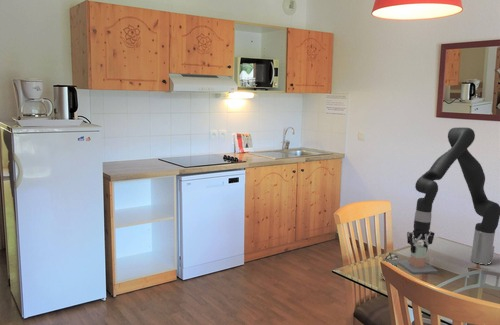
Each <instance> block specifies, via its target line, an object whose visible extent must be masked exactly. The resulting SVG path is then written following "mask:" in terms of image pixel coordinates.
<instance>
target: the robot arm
mask: <svg viewBox="0 0 500 325" xmlns="http://www.w3.org/2000/svg"><path fill="white" fill-rule="evenodd" d="M475 137H476V134H475V131H474V129H472V128H470V127H452V128H450V129H449V130H448V132H447V140H448V142H449V145H450V147H451V148H449V149H448V150H447V151H445V152H444V153H442V155H440V156H438V158H436V160H435V161H434V163H432V165H431V167H430V168H429V170H427V171H426V172H425V173H424V174H422V175H421V176H420V177H419V178H418V179H417V181H416V182H415V187H414V188H415V191H417V192H419V193H421V194H424V197H419V198H418V199H417V200H416V201H417V202H416V208H415V214H414V219H413V230H412V231H408V232H407V233H406V237H407V238H406V239H407V244H408V245H410V253H411V252H412V253H415V248H416V246H415V245H417V243H419V241H422V242H423V243H422V246H424V247H426V248H427V250H426V253H427V252H428V249H429V245H432V244H433V241H434V237H435V232H433V231H431V223H432V212H433V211H432V210H433V204H434V201H435V198H436V196H437V194H438V191H439V185H438V183H437V182H436V181H440V180H442V179H443V177H444V176H445V175H446V173H447V172H448V170H449V169H450V168H451V166H452V165H453V164H454V163H455V162H456V160H457V162H458V164H459V166H460V167H459V168H460V169H461V172H462V175H463V177H464V180H465V183H466V186H467V188H468V191H469V194H470V196H471V200H472V204H473V208H474V211H475V213H476V214H477V215H478V216H480V217H482V220H481V222H478V223H476V224H475V228H474V233H473V242H472V248H471V256H470V261H471V260H472V261H474V262H478V263H482V264H488V263H490V262H492V263H493V258H494V253H495V245H494V241H495V237H496V236H495V234H496V230H497V228H498V226H499V222H500V205H499V203H497V202H495V201H492V200H489V198H488V197H487V195H486V193H485V182H486V175H485V172H484V169H483V167H482V164H481V163H480V162H479V161H478V159H477V158H475V156H473V155H472V153H471V152H470V150H468V148H470V146H472V144H473V143H474V141H475V139H476V138H475ZM472 261H471V262H472ZM474 262H473V263H474Z"/></svg>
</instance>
